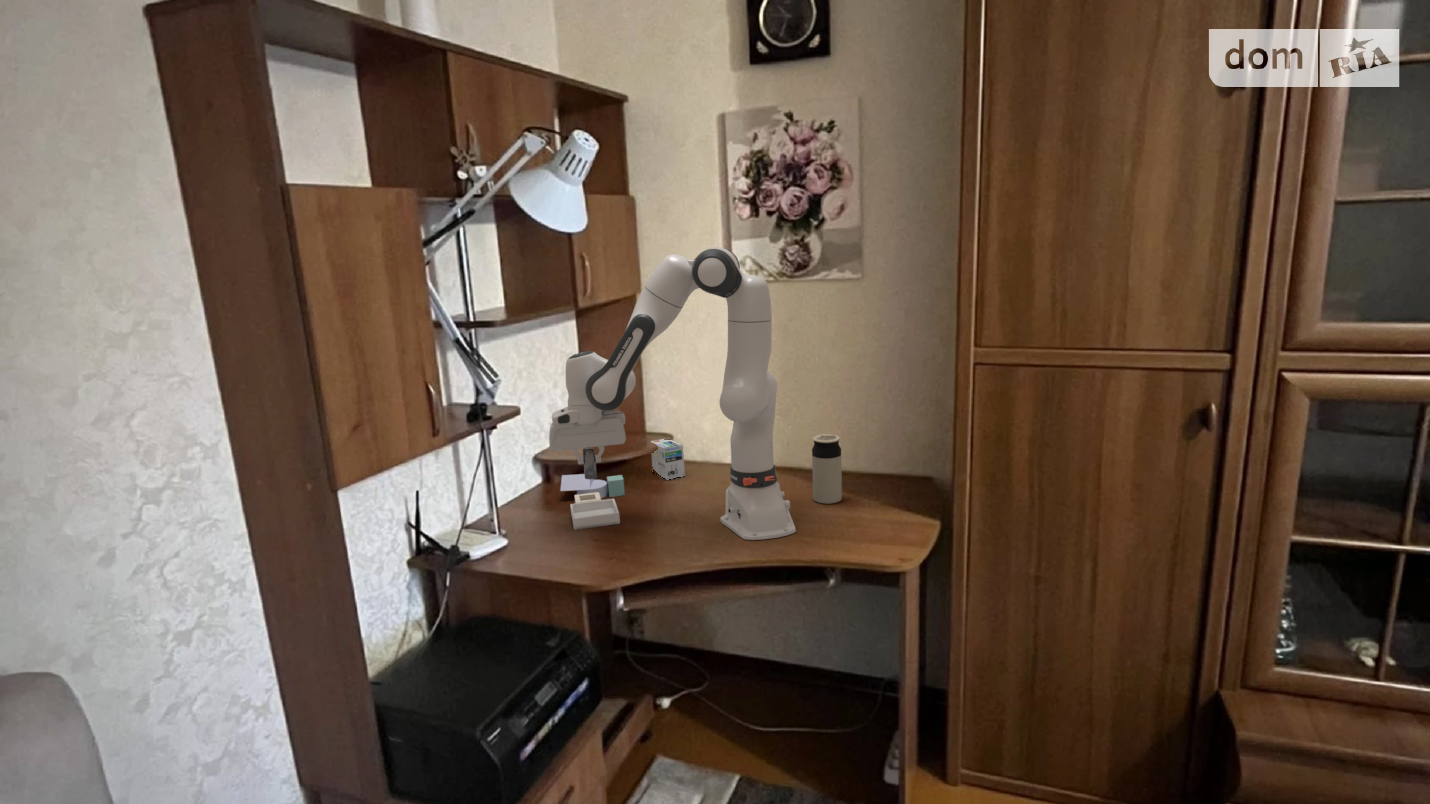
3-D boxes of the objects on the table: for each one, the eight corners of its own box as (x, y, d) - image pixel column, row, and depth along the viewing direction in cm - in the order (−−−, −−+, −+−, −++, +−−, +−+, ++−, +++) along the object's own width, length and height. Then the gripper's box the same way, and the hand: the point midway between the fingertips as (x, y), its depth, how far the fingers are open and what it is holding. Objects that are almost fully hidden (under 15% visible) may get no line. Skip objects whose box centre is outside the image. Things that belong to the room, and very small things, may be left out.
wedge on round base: (561, 502, 227) (605, 499, 227) (559, 480, 225) (604, 477, 226) (566, 491, 236) (609, 489, 236) (564, 470, 234) (607, 468, 234)
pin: (597, 478, 208) (595, 449, 206) (585, 479, 207) (582, 451, 205) (596, 475, 211) (593, 446, 209) (584, 476, 210) (582, 448, 208)
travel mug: (847, 501, 215) (846, 438, 211) (822, 506, 212) (820, 443, 208) (832, 493, 222) (831, 432, 218) (808, 497, 219) (806, 436, 215)
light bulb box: (685, 477, 244) (683, 443, 241) (666, 481, 241) (664, 447, 238) (670, 469, 253) (668, 437, 251) (651, 473, 250) (649, 440, 247)
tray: (620, 523, 207) (619, 513, 206) (573, 529, 204) (572, 519, 204) (614, 508, 219) (614, 498, 218) (571, 514, 216) (570, 504, 215)
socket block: (602, 509, 218) (601, 499, 218) (576, 513, 217) (575, 503, 216) (599, 501, 225) (598, 492, 224) (575, 505, 223) (574, 495, 223)
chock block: (624, 495, 230) (623, 479, 229) (609, 497, 229) (608, 481, 228) (623, 490, 234) (621, 474, 233) (608, 492, 233) (606, 476, 232)
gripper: (623, 406, 210) (626, 455, 213) (546, 413, 206) (551, 463, 209) (626, 411, 204) (629, 461, 207) (547, 419, 200) (551, 470, 203)
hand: (589, 462), depth 208 cm, fingers closed on pin, 3 cm apart
